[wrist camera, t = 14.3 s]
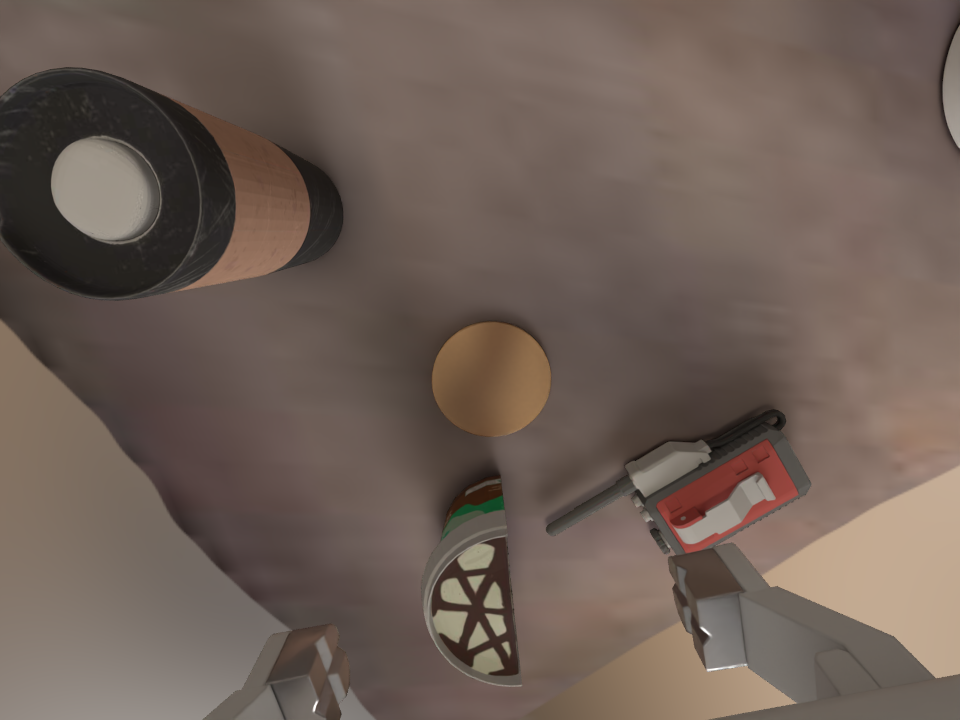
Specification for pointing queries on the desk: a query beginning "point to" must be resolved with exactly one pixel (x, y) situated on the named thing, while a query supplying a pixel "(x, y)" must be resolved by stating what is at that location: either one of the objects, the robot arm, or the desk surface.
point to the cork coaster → (491, 378)
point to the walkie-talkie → (707, 486)
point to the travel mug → (148, 191)
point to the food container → (474, 588)
